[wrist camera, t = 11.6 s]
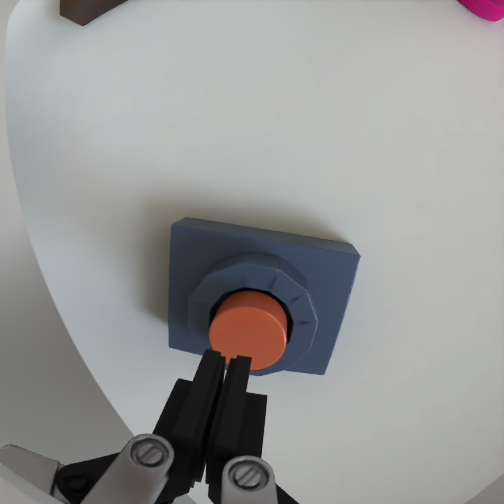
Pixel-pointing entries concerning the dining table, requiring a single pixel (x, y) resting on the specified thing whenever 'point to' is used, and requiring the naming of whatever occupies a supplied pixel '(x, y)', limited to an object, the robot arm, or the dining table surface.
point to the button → (250, 328)
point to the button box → (260, 286)
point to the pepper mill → (486, 8)
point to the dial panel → (86, 9)
